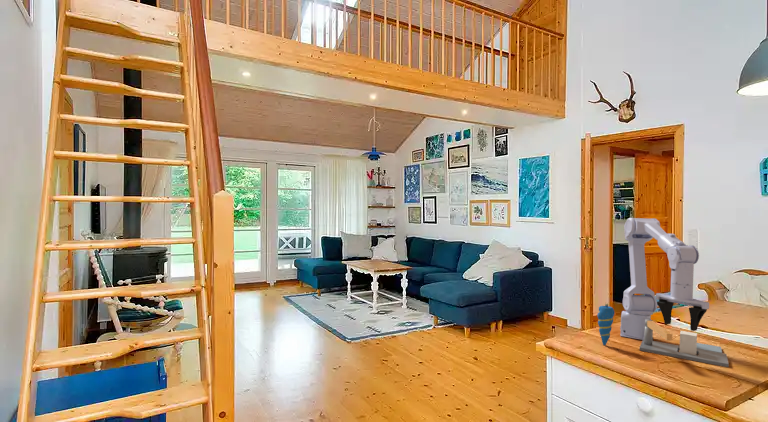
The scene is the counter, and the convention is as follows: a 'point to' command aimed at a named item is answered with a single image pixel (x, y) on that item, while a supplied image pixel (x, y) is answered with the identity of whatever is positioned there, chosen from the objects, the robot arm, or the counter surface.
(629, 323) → the robot arm
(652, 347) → the socket block
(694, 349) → the plug
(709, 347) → the rest pad
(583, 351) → the counter surface
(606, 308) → the ornament
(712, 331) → the counter surface
